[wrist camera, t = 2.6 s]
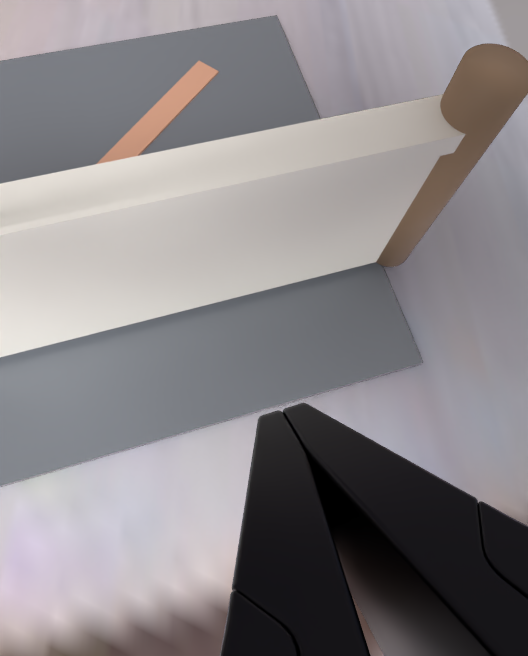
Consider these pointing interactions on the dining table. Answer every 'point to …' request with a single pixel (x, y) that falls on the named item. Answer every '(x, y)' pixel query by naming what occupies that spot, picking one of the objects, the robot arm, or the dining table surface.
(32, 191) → the white fence panel
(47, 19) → the dining table surface
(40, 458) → the card
